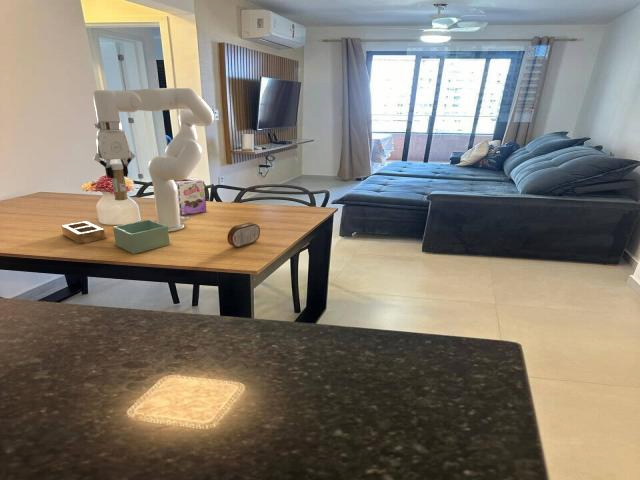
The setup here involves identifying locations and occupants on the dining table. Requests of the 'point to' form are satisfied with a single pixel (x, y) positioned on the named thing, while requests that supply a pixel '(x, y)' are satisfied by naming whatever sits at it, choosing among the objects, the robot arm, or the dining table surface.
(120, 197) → the sprinkles bottle
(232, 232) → the tin
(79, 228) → the rack
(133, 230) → the basin
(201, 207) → the candy box
